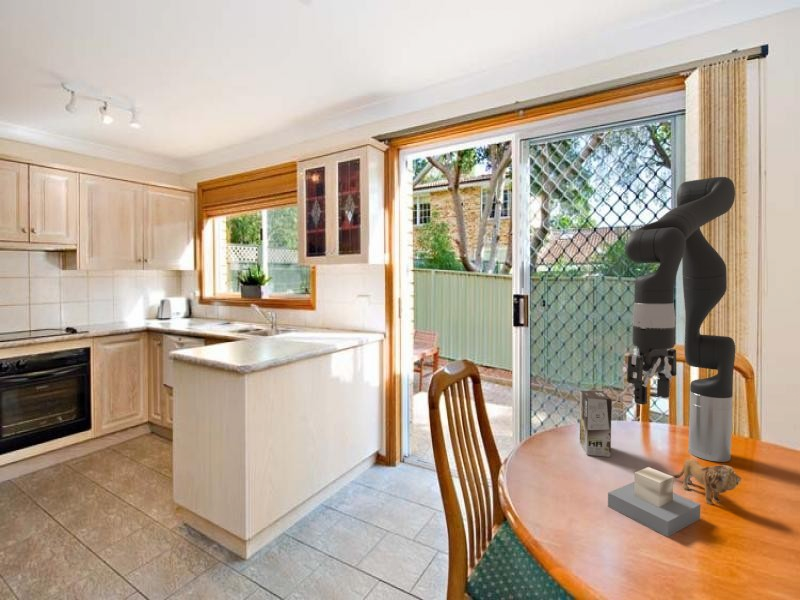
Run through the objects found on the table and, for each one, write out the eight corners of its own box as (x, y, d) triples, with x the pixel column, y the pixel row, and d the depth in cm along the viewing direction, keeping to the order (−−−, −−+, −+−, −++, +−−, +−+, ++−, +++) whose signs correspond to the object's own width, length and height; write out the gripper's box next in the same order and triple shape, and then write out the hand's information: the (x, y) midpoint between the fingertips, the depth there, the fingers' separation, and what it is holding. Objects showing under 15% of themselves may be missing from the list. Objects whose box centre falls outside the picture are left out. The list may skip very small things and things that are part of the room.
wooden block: (647, 489, 87) (648, 467, 87) (672, 500, 83) (673, 476, 83) (634, 495, 85) (634, 472, 84) (659, 507, 80) (659, 482, 80)
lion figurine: (745, 511, 84) (746, 469, 84) (724, 514, 83) (726, 471, 83) (682, 477, 98) (683, 441, 98) (663, 480, 97) (664, 443, 97)
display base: (640, 491, 92) (640, 479, 92) (700, 518, 81) (700, 504, 81) (607, 506, 86) (608, 492, 86) (667, 537, 76) (667, 521, 75)
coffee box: (611, 457, 110) (612, 399, 109) (586, 455, 111) (587, 398, 111) (602, 444, 119) (602, 390, 118) (578, 442, 120) (579, 389, 120)
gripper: (653, 320, 91) (652, 390, 92) (615, 325, 84) (614, 401, 85) (690, 323, 85) (689, 399, 86) (652, 328, 78) (651, 411, 79)
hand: (652, 400), depth 86 cm, fingers open, 8 cm apart
